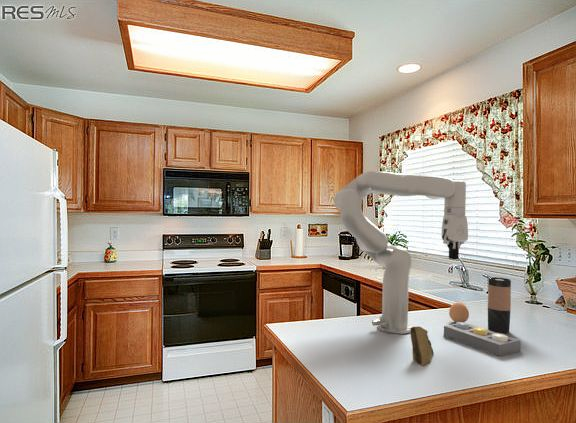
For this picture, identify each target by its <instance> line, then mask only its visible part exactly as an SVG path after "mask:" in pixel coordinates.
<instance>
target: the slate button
mask: <svg viewBox="0 0 576 423" xmlns="http://www.w3.org/2000/svg"><path fill="white" fill-rule="evenodd" d="M455 324H456V327H457V328H460V329H463V330H467V329H469V324H470V323H467V322H455Z"/></svg>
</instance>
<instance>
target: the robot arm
mask: <svg viewBox="0 0 576 423" xmlns="http://www.w3.org/2000/svg"><path fill="white" fill-rule="evenodd" d="M466 188H467V184H466V182H465V181H464V180H459V179H458V180H457V179H456V180H452V179H451V178H448V177H444V176H436V175H435V176H434V175H425V174H424V175H423V174H408V173H406V174H405V173H397V172H396V173H394V172H389V171H380V170H379V171H378V170H369V171H366V172H363V173H361V174H359V175H358V176H357V177H356V178H354V179H352V181H350V182H349V183H348V184H347V185H344V187H342V188H341V189H339V190H338V191H337V192H336V194H335V195H334V198H333V204H334V207H335V208H336V209H337V210H339V216H340V221H341V224H342V225H343V227H344V228H345V230H346V231H347V232H348V233H349V234H351V235H352V237H354V239H355V241H356V244H357V245H358V247H359V248H360V249H361V250H362V252H364V253H365V255H367V256H368V257H370V258H371V259H372V260H373V261H374V262H376V264H378V265H379V266H381V267H383V268H384V272H383V277H382V301H381V303H382V304H381V315H380V316H379V318H378V319H375V320H372V321H371V324H372V326H374V327H375V326H377V328H378V329H379V330H380V331H383V332H386V333H389V334H390V333H391V334H396V335H397V334H398V335H402V334H403V335H404V334H409V333H410V334H411V331H410V328H412V326H411V325H409V324H408V323H409V322H408V321H409V319H408V318H409V287H410V286H409V284H410V282H409V280H410V272H411V268H412V257H411V254H410V252H409V251H408V250H407V249H406V248H404V247H402V246H398V245H393V244H391V243H390V242H389V238H388V237H387V235H386V233H385V232H384V231H383V230H381V229H380V228H379V227H377V225H375V224H374V223H373V222H372V221H370V220H369V219H368V218H367V217H366V215H365V214H364V213H363V209H362V204H363V203H362V202H363V199H365V198H366V197H367V196H368V195H370V194H376V195H377V194H378V195H379V194H380V195H389V196H397V197H413V196H414V197H415V196H425V197H426V198H428V199H432V200H434V199H435V200H437V199H444V206H443V207H444V208H443V209H444V210H443V214H444V215H443V218H442V224H441V240H443V241H442V243H443V244H444V245H447V249H448V259H450V260H459V258H460V257H459V256H460V254H459V252H460V248H461V246H462V245H464V244H465V242H466V241H468V240H469V227H468V226H469V225H468V220H467V219H468V218H467V215H466V199H467V196H466V195H467V194H466V192H467V189H466Z"/></svg>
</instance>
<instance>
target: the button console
mask: <svg viewBox="0 0 576 423" xmlns="http://www.w3.org/2000/svg"><path fill="white" fill-rule="evenodd" d="M468 324H469V329H467V330H463V329H460V328H457V327H456V323H453V324H447V325H443V337H446V338H449V339H450V340H451V339H452V340H455V341H456V342H460V343H462V344H464V345H468V346H470V347H473V348H476V349H479V350H481V351H484V352H487V353H489V354H492V355H495V356H497V357H503V356H507V355H510V354H515V353H519V352H521V350H522V349H521V347H522V346H521V345H522V340H521V339H518V338H515V337H511V336H509V335H506V336H507V337H508V342H504V343H502V342H499V341H496V340H493V339H492V334H500V333H496V332H493V331H490V330H488V329H487V330H488V335H485V336H481V335H478V334H475V333H473V328H481V327H479V326H477V325H473V324H470V323H468Z"/></svg>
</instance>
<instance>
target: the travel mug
mask: <svg viewBox="0 0 576 423" xmlns="http://www.w3.org/2000/svg"><path fill="white" fill-rule="evenodd" d="M511 286H512V280H511V279H509V278H505V277H498V276H497V277H496V276H495V277H491V278H489V277H488V290H487V292H488V293H487V294H488V295H487V330H490V331H493V332H496V333H499V334H503V335H505V334H509V333H510V326H511V324H510V323H511V304H512V303H511V298H512V297H511V293H512V292H511V290H512V289H511V288H512V287H511Z"/></svg>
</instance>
